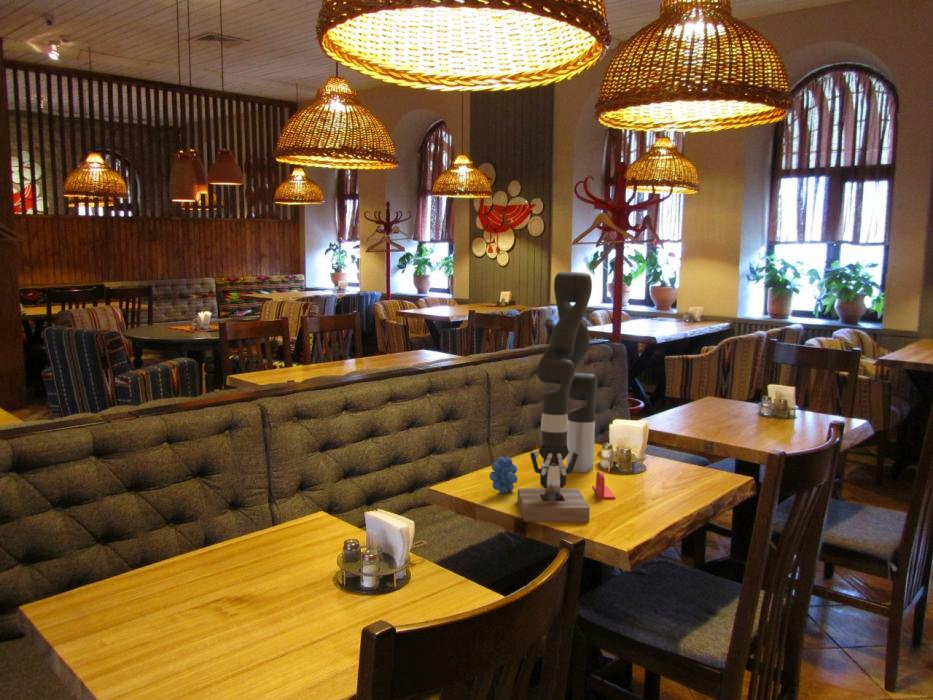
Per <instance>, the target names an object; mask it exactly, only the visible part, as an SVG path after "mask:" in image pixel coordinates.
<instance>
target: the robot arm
mask: <svg viewBox="0 0 933 700" xmlns="http://www.w3.org/2000/svg"><path fill="white" fill-rule="evenodd" d="M553 281H554V282H553V289H554V290H553V291H554V296H555V297H554V298H555V304H556V307H557V308H556V309H557V313H558V321H557V323H555V325H554V326H553V329H552V333H551V336H550V340H549V344H548V346H547V348H546V351H545V352H544V354H543V355H542V357H541V358H540V360H539V362H538V364H537V368H536V376H537V378H538V380H539V381H540V382H541V383H544V384H555V385H556V384H558V385H560V387H559V389H557V390H550V391H547V392H545V393H543V396H542V410H541V411H542V412H541V413H542V414H541V420H540V422H541V423H540V447H539V449H538V450H535V451H533V450H531V451H529V455H530V456H529V457H530V460H531V464H532V467H533V470H534V472H535V474H539V475H540V476H539V480H540V482H539V483H540V484H539V485H540V486H541V487H542V488H546V475H545V473H546V470H547V468H548V466H549V464H559V465H560V468H561V489H564V486H566V485H567V475H568V474H572V473H573V471H574V472H575V473H589V472H588V471H590V472H592V471H591V470H594V461H595V459H594V458H595V455H594V454H595V435H596V434H595V431H596V429H595V428H596V427H595V426H596V405H597V403H596V400H597V389H598V378H597V375H596V374H594V373H584V372H576V368H577V367H578V366H579V364H580V363H581V362H582V361H583V359H584V358H585V357H587V354H588V352H589V350H590V347H591V344H590V343H591V342H590V331H589V328H588V326H587V324H586V323H585V321H583V318H584V315H585V313H586V310H587V307H588V305H589V302H590V298H591V295H592V289H593V280H592V276H591V275H590V274H589V273H588V272H581V271H580V272H577V271H575V272H574V271H560V272H558V273H556V275H555V277H554V280H553ZM571 303H574V305H573V306H571ZM569 400H573V401H585V403H584V405H582V406H580V407H577V408H573V409H570V410H569V411H568V407H569V406H568V402H569ZM539 455H540V457H541V458H542V459H543V460H542V464H541V467H539V465H538V462H537V460H538V458H539ZM564 460H566V465H565V464H564Z"/></svg>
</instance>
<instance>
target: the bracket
mask: <svg viewBox="0 0 933 700" xmlns="http://www.w3.org/2000/svg"><path fill="white" fill-rule="evenodd" d="M605 484H606V483H605V474H604V472H603V471H597V472H596V476H595V485H592V486H591V487H592V489H593V488H594V489H593V490H594V492H595V493H596V495H597V496H598V498H599V499H600V500H616V495H614V493H613V492H612V491H611V489H610V488H609V487H608V486H607V485H605Z"/></svg>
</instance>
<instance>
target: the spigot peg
mask: <svg viewBox="0 0 933 700" xmlns="http://www.w3.org/2000/svg"><path fill="white" fill-rule="evenodd" d="M545 475H546V488H545V499H546V500H551V501H557V500H560V496H561V489H562V488H561V468H560V465H559V464H549V466H548V468H547V470H546V473H545Z"/></svg>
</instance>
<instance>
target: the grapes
mask: <svg viewBox="0 0 933 700" xmlns="http://www.w3.org/2000/svg"><path fill="white" fill-rule="evenodd" d="M513 461H514V460H513V459H512V458H511V457H508V456H507V457H504V456H499V457H497V460H496V461H494V462H492V464H491V470H492V471H491V472H490V473H489V475H488V476H489V479H490V480H491V481H492V484H491V486H492V489H493V490H495V491H498V492H499V493H500V494H501V495H505V494H506V493H507V492H512V491H513V490H514V484H516V483H518V480H519V478H518V476H517V475H516V473H517V472H518V467H517V465H515V464H513V463H514V462H513Z"/></svg>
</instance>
